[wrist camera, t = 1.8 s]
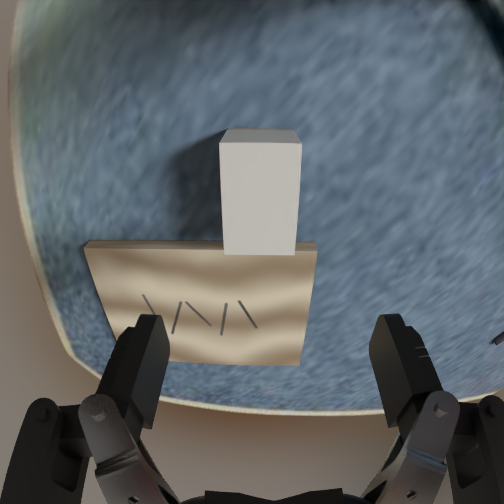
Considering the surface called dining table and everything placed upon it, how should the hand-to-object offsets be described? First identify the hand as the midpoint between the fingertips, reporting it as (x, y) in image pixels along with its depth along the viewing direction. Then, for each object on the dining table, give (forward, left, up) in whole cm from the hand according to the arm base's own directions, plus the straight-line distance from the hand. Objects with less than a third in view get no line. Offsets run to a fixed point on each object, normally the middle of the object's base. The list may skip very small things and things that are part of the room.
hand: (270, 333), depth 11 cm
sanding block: (0, 0, -16) cm, 16 cm away
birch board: (+14, -6, -16) cm, 22 cm away
